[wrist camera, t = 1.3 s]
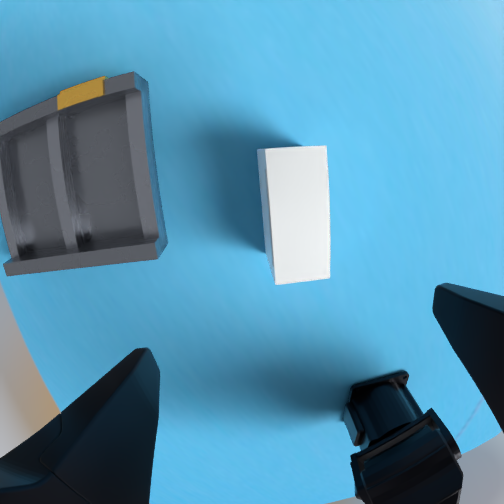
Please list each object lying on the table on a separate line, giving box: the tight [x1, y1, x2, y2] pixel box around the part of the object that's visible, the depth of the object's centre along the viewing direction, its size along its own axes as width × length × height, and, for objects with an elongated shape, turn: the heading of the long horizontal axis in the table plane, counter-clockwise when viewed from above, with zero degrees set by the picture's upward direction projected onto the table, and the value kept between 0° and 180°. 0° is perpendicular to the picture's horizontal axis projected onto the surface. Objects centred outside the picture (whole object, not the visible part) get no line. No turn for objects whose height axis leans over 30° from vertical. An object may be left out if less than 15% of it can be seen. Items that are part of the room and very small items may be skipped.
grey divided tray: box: [0, 72, 168, 276], centre depth 16 cm, size 13×11×3 cm
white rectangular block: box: [257, 146, 330, 285], centre depth 17 cm, size 3×7×5 cm, turn 5°
